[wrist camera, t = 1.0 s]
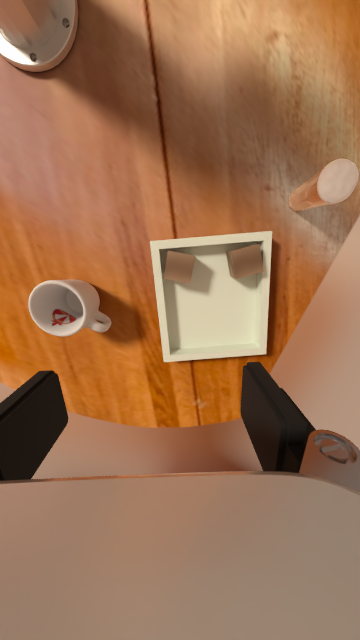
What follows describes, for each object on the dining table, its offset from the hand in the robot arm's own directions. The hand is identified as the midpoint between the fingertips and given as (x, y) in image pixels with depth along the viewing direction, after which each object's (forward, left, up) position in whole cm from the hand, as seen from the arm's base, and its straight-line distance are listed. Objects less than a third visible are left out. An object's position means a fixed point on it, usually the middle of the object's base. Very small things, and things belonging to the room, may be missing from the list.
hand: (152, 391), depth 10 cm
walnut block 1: (-5, +2, -26) cm, 27 cm away
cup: (0, -14, -27) cm, 30 cm away
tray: (+1, +7, -27) cm, 28 cm away
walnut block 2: (-5, +12, -26) cm, 29 cm away
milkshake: (-13, +21, -27) cm, 36 cm away
